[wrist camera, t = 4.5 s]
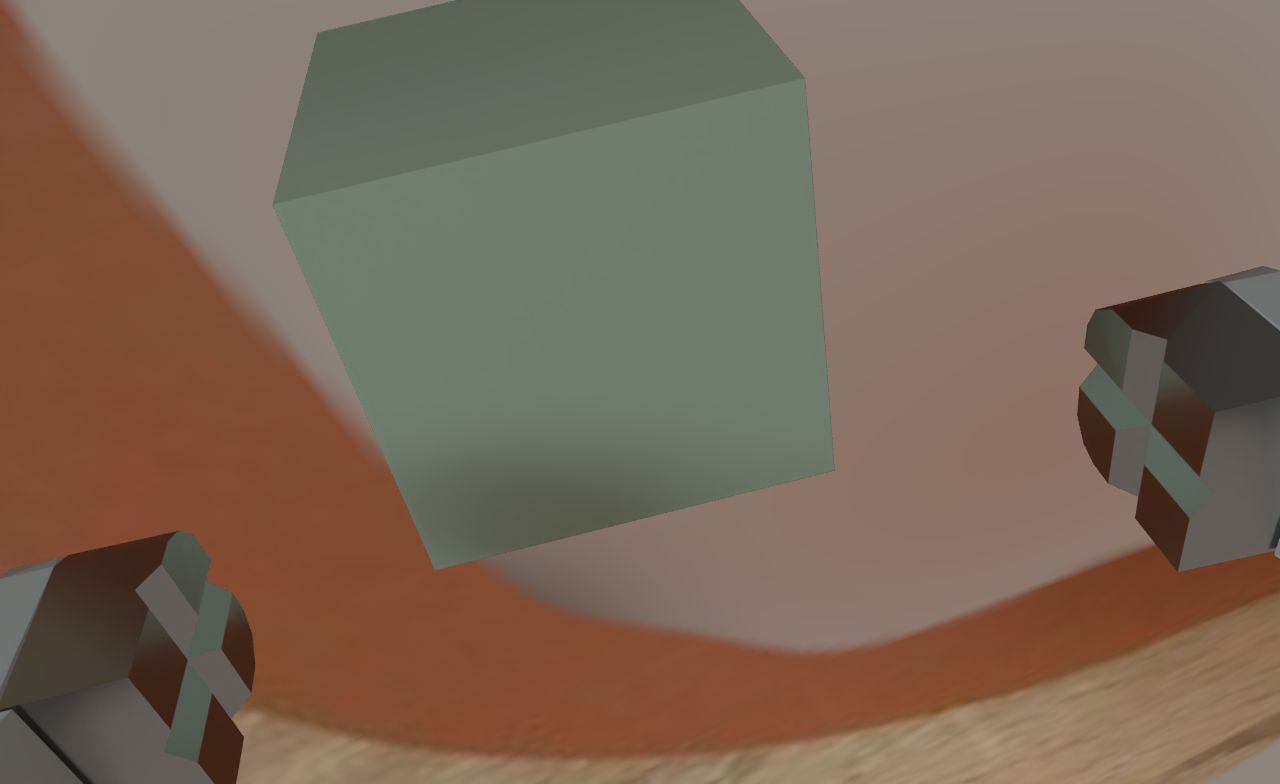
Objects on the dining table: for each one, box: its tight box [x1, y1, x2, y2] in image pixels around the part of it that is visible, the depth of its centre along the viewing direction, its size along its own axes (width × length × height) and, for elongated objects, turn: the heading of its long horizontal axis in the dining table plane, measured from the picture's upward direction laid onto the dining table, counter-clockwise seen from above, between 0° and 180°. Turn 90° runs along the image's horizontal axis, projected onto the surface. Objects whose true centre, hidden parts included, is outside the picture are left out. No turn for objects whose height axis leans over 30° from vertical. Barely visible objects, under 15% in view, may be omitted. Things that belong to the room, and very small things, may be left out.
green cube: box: [273, 0, 835, 570], centre depth 13 cm, size 5×5×5 cm
